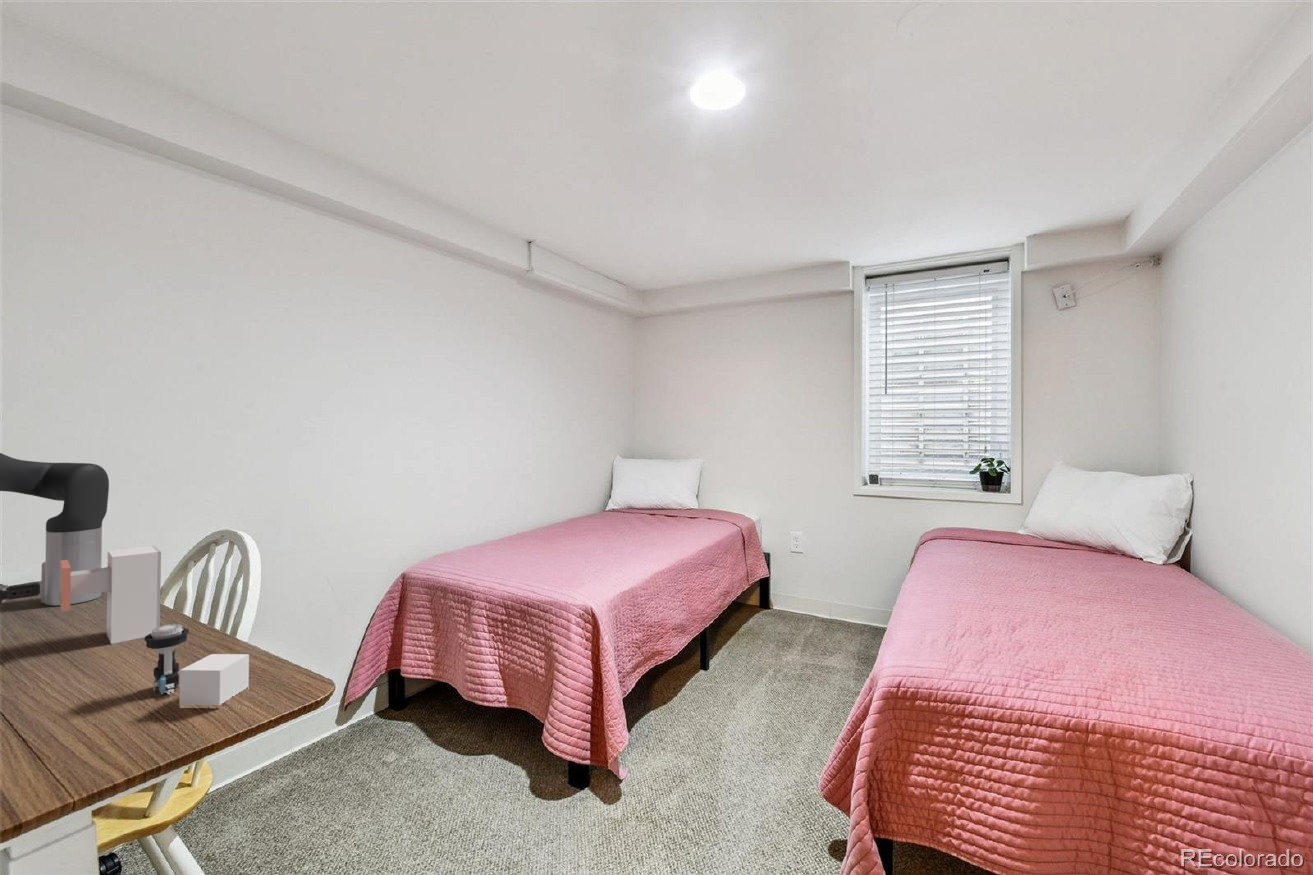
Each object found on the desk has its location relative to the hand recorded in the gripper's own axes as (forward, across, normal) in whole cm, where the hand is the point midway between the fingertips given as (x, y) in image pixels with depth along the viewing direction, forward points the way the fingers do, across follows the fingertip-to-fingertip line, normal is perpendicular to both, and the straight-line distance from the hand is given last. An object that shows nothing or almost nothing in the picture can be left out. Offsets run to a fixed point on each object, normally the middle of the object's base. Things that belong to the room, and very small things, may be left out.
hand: (39, 588), depth 100 cm
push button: (+13, -36, +12) cm, 40 cm away
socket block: (+13, 0, +12) cm, 17 cm away
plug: (+6, 0, +4) cm, 8 cm away
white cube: (+17, -45, +12) cm, 50 cm away
